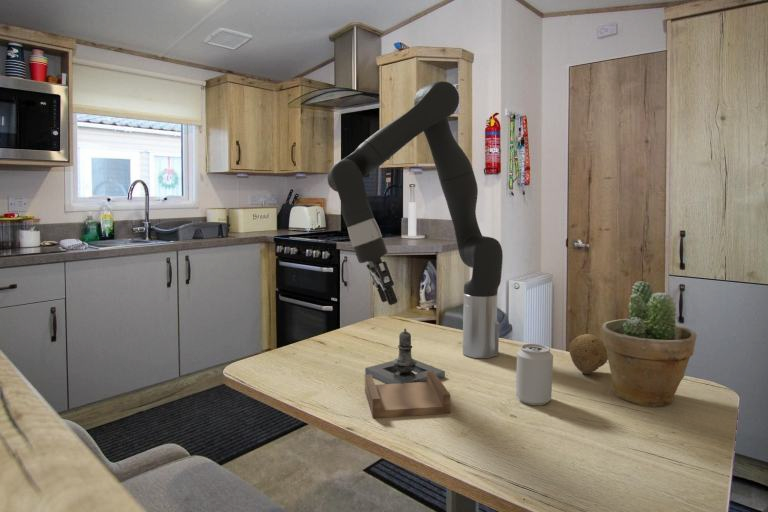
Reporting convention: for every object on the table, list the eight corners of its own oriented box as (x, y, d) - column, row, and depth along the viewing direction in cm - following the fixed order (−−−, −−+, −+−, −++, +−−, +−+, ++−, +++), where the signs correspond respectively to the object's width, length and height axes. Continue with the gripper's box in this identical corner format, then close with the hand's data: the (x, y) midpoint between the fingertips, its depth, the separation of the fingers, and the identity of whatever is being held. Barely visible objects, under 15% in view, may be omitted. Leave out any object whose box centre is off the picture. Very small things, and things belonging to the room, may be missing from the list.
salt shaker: (409, 381, 123) (409, 332, 122) (388, 376, 126) (388, 329, 125) (420, 374, 128) (421, 327, 127) (400, 369, 131) (400, 324, 130)
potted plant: (712, 409, 107) (722, 292, 104) (636, 418, 103) (644, 296, 100) (648, 379, 125) (655, 278, 122) (581, 385, 121) (586, 281, 118)
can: (551, 395, 115) (553, 343, 113) (550, 409, 108) (553, 353, 106) (517, 391, 117) (518, 340, 116) (514, 404, 110) (515, 350, 109)
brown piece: (433, 387, 119) (433, 371, 119) (449, 413, 106) (450, 394, 105) (364, 391, 117) (364, 374, 116) (372, 418, 103) (372, 398, 103)
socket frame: (407, 362, 137) (407, 356, 137) (444, 377, 126) (445, 371, 126) (365, 373, 128) (365, 367, 128) (401, 390, 118) (401, 384, 117)
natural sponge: (587, 365, 135) (589, 328, 134) (615, 376, 127) (617, 337, 126) (561, 369, 132) (562, 332, 130) (587, 381, 123) (589, 341, 122)
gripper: (387, 233, 118) (410, 299, 120) (375, 236, 132) (397, 294, 133) (357, 245, 117) (381, 311, 118) (348, 246, 131) (370, 305, 132)
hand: (389, 302), depth 126 cm, fingers open, 8 cm apart
